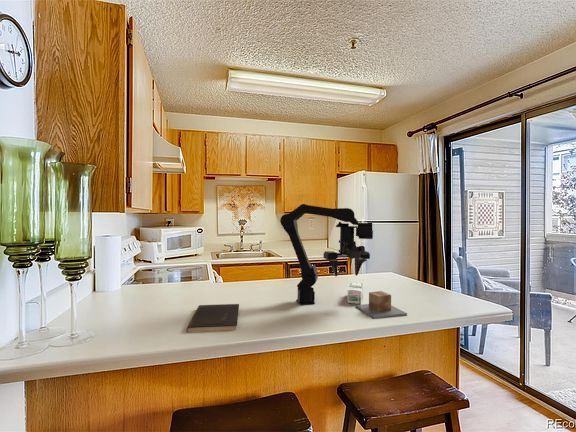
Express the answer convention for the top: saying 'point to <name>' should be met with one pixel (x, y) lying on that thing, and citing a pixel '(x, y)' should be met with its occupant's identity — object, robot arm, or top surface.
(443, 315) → the top surface
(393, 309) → the trivet
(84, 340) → the top surface
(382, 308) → the walnut cube
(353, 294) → the syrup box
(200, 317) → the hardcover book
